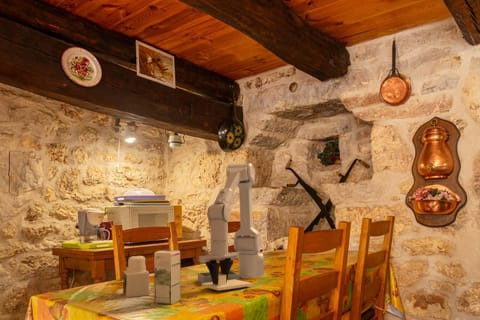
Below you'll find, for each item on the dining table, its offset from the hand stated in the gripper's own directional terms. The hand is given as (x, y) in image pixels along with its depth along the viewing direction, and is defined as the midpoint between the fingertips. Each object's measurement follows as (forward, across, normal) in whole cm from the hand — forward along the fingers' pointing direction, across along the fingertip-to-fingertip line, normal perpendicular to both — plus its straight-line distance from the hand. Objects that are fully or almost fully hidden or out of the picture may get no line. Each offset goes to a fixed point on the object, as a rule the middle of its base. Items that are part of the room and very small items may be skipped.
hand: (219, 283), depth 124 cm
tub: (+2, -7, -11) cm, 14 cm away
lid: (+1, -3, 0) cm, 3 cm away
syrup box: (+3, +20, +2) cm, 20 cm away
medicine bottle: (+3, +22, -14) cm, 27 cm away
